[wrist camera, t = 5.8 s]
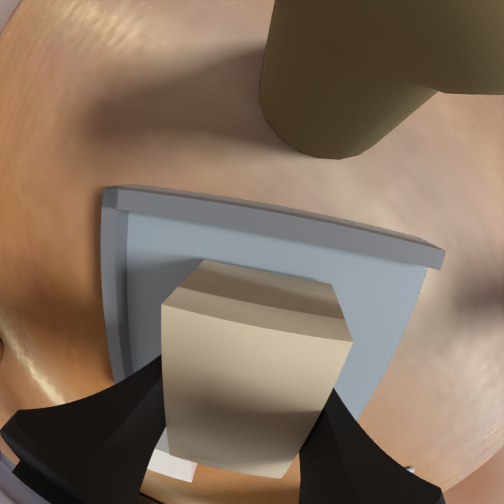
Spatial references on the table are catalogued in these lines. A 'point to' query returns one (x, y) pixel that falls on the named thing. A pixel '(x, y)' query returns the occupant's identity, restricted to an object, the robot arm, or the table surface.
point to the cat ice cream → (1, 352)
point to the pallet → (248, 365)
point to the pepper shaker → (372, 66)
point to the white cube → (170, 462)
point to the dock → (259, 258)
